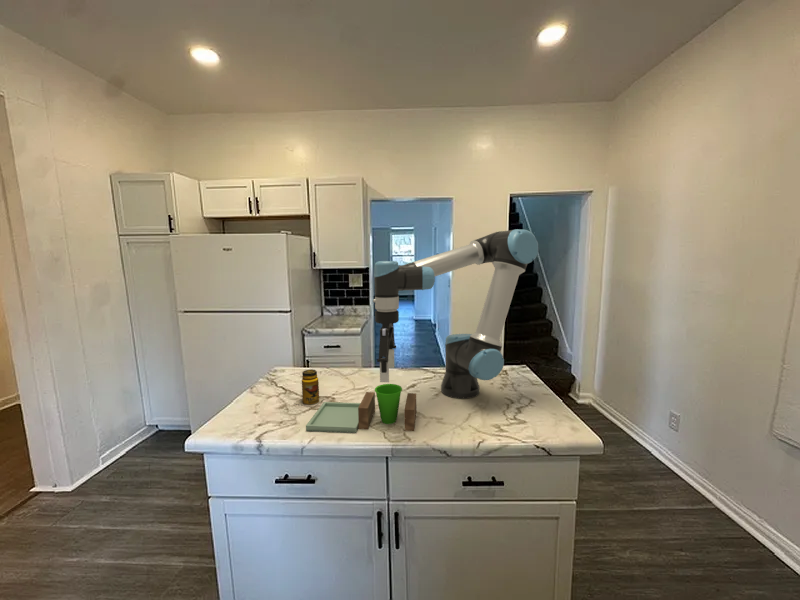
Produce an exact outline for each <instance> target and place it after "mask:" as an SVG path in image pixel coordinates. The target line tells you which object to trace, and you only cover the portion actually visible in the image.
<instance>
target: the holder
mask: <svg viewBox="0 0 800 600" xmlns="http://www.w3.org/2000/svg"><path fill="white" fill-rule="evenodd" d="M375 394H376V392H375V391H366V392H365V394H364V396H363V397H362V399H361V402H359V403H360V405H359V407H358V420H359V428H358V430H369V428H370V425H371V423H372V421H373V418H374V415H375V413H376V395H375ZM404 404H405V405H404V410H403V411H404V413H403V414H404V431H405V432H415V428H416V419H417V414H418V413H417V411H418V410H417V409H418V408H417V393H415V392H414V393H413V392H411V393H409V392H408V393H407V395H406V400H405V403H404Z"/></svg>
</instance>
